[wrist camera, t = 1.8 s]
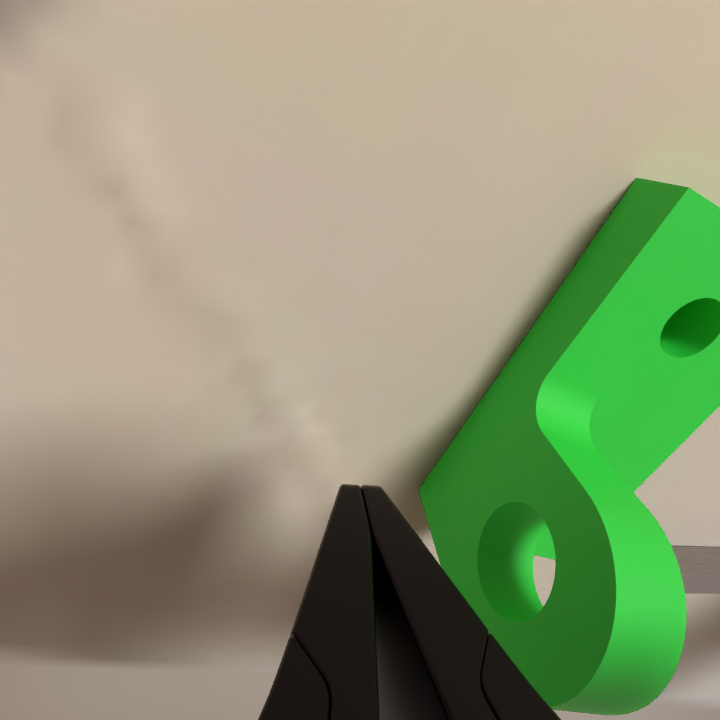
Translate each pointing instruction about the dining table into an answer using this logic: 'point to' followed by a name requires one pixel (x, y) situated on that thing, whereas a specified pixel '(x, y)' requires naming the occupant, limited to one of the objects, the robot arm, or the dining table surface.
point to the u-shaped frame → (699, 568)
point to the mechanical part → (590, 460)
